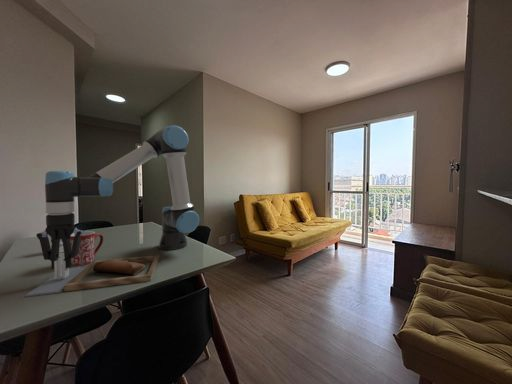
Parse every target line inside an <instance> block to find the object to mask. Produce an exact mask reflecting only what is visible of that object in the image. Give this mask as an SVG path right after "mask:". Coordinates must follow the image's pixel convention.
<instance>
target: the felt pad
mask: <svg viewBox="0 0 512 384" xmlns="http://www.w3.org/2000/svg"><path fill="white" fill-rule="evenodd" d="M85 268H86V267H80V268H69V275H68V276H67V277H66V278H62V276H61V277H59V278H58V279H55V275H53V276H52V277H50V278H49V279H47V280H46V281H44V282H43V283H41V284H40V285H38V286H37V287H36V288H34V289H33V290H30V292H28V293H27V294H25V298H28V297H36V296H37V297H38V296H42V295H52V294H60V293H63V292H64V285H65V284H67V283H68V282H69V281H70V280H71V279H73V278H74V277H75V276H76V275H78V274H79V273H80V272H81V271H83V270H84V269H85Z"/></svg>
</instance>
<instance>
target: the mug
mask: <svg viewBox="0 0 512 384" xmlns="http://www.w3.org/2000/svg"><path fill="white" fill-rule="evenodd" d="M74 237H75V235H74V233H73V234H72V235H71V240H70V241H71V249H72V246H73V241H74ZM98 237H99V243H98V244H97V247H96V248H95V240H96V238H98ZM103 243H104V236H103V235H102V234H99V233H96V232H95V231H91V230H89V231H88V230H87V231H86V230H84V233H83V234H82V236H81V241H80V246H79V252H78V255H77V256H75V257H73V258H72V266H77V267H78V266H85V265H88V264H89V265H90V264H91V263H93V262H94V261H95V257H94V256H95V255H96V254H97V252H99V251H100V248H101V247H102V245H103Z"/></svg>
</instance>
